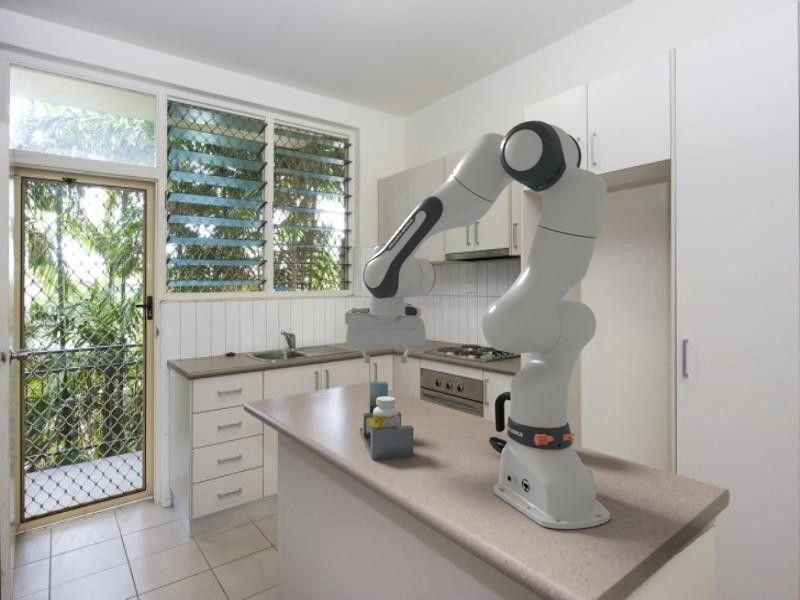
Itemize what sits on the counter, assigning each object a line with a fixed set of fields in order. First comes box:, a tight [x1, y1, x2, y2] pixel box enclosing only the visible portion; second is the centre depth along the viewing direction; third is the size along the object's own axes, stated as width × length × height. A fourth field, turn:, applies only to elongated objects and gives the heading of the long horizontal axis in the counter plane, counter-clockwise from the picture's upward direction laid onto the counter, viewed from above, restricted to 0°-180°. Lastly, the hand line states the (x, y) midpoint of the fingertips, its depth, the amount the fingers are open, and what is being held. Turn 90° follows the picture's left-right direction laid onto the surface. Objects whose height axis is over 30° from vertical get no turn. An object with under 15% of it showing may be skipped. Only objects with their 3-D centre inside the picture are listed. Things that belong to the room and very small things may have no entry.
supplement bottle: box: [373, 395, 399, 428], centre depth 113 cm, size 6×6×11 cm
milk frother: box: [488, 391, 511, 454], centre depth 113 cm, size 14×16×15 cm
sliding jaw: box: [362, 381, 402, 436], centre depth 122 cm, size 9×10×12 cm
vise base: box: [359, 424, 414, 461], centre depth 116 cm, size 20×10×7 cm, turn 14°
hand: (385, 362), depth 114 cm, fingers open, 8 cm apart
